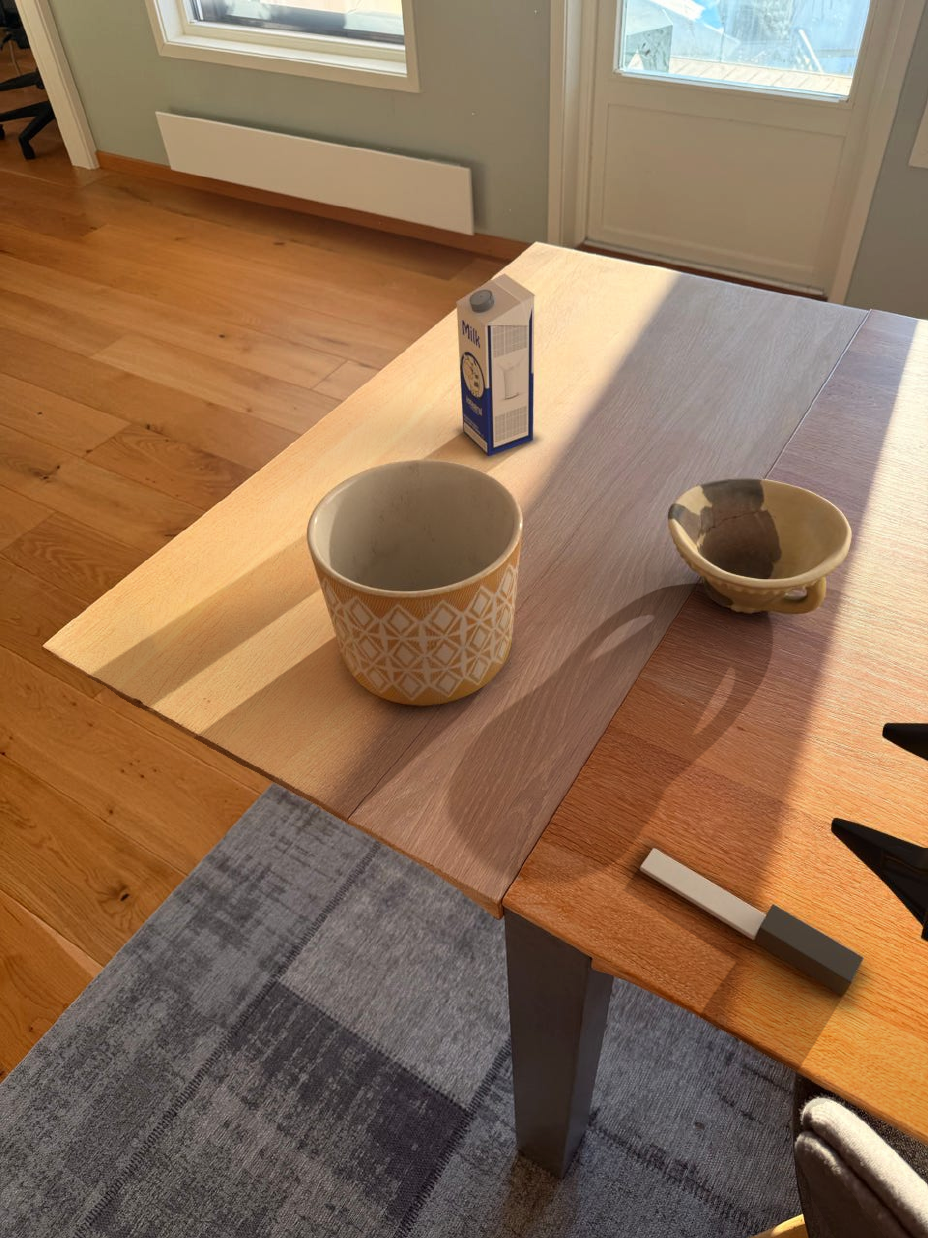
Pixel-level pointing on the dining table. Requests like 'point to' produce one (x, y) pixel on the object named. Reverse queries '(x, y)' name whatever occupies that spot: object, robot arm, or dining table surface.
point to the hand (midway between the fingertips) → (858, 774)
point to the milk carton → (497, 364)
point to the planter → (419, 577)
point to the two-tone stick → (762, 925)
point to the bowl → (759, 543)
